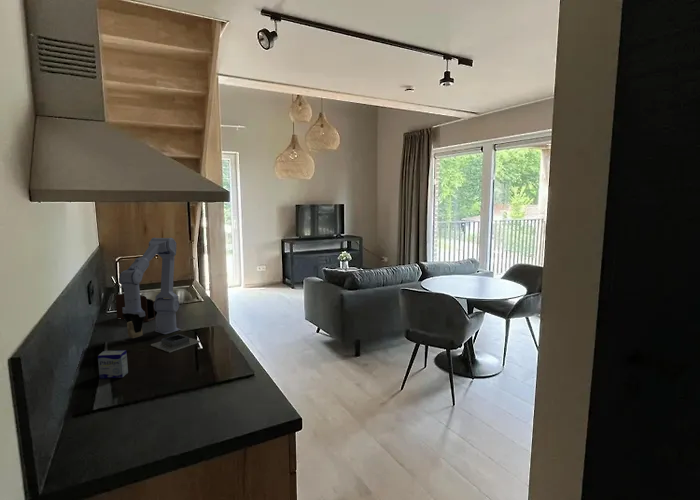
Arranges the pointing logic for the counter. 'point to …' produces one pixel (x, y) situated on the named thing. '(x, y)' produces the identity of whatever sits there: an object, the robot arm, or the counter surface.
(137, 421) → the counter surface
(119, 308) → the letter holder
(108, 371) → the box
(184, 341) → the socket plate
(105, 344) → the counter surface
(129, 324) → the beige rectangular block
